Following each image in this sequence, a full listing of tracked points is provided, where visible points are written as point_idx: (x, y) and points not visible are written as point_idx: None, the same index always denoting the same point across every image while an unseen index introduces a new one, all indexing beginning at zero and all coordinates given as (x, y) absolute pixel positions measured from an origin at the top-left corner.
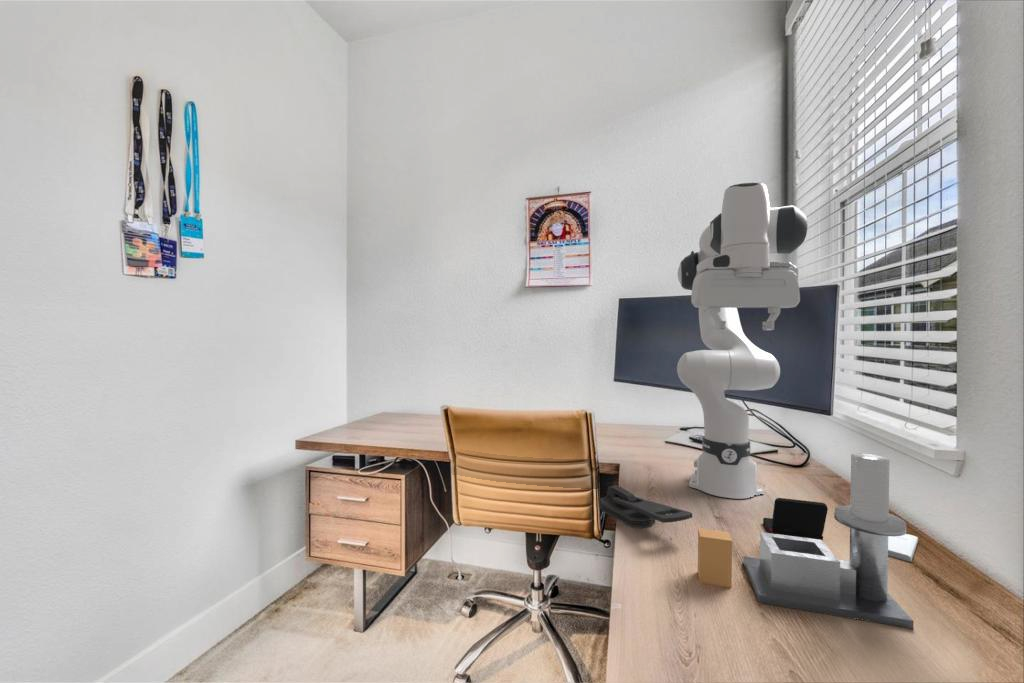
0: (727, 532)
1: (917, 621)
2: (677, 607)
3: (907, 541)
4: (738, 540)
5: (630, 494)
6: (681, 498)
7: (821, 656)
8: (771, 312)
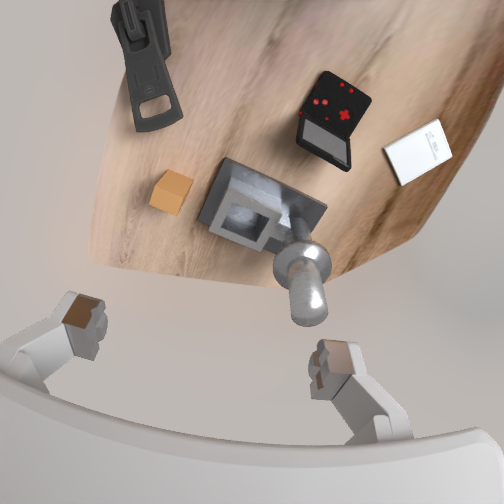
0: (181, 198)
1: None
2: (131, 216)
3: (432, 162)
4: (255, 108)
5: (134, 32)
6: None
7: (204, 268)
8: (354, 435)
